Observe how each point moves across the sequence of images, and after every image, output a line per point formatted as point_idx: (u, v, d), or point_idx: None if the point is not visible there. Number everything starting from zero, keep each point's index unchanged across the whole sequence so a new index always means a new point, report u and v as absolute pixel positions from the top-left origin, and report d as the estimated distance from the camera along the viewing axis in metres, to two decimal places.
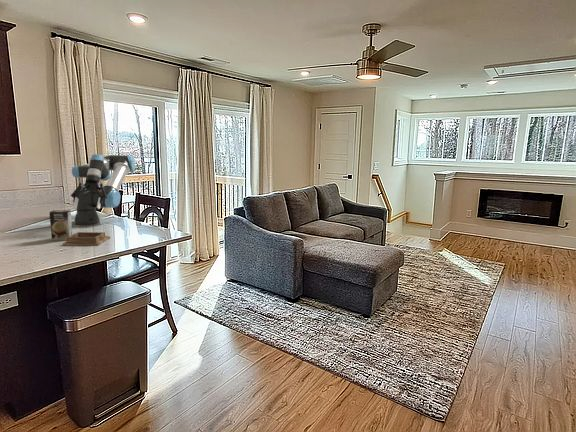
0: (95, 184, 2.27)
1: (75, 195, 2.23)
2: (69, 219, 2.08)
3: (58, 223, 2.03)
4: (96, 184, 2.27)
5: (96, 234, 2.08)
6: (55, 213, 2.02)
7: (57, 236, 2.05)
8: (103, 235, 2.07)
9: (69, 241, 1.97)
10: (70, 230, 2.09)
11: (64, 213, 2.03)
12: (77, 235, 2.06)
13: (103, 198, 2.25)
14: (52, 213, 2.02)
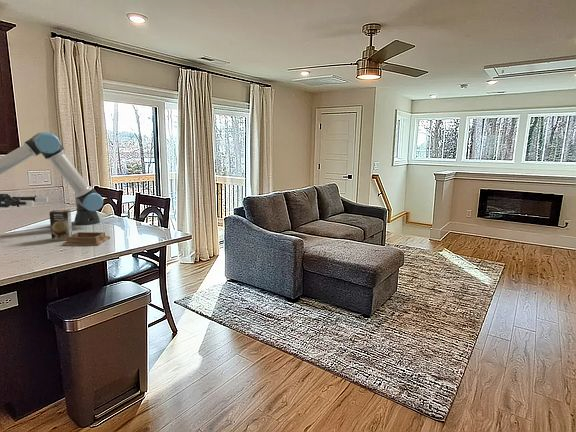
0: None
1: None
2: (69, 219, 2.08)
3: (58, 223, 2.03)
4: None
5: (96, 234, 2.08)
6: (55, 213, 2.02)
7: (57, 236, 2.05)
8: (103, 235, 2.07)
9: (69, 241, 1.97)
10: (70, 230, 2.09)
11: (64, 213, 2.03)
12: (77, 235, 2.06)
13: (17, 202, 1.95)
14: (52, 213, 2.02)
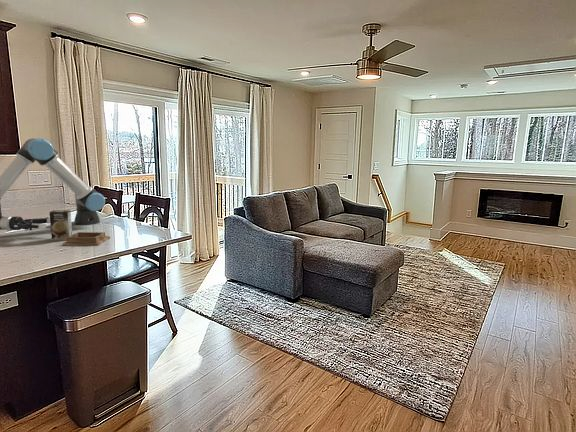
0: None
1: (46, 222, 2.13)
2: (69, 219, 2.08)
3: (58, 223, 2.03)
4: None
5: (96, 234, 2.08)
6: (55, 213, 2.02)
7: (57, 236, 2.05)
8: (103, 235, 2.07)
9: (69, 241, 1.97)
10: (70, 230, 2.09)
11: (64, 213, 2.03)
12: (77, 235, 2.06)
13: (30, 226, 1.97)
14: (52, 213, 2.02)
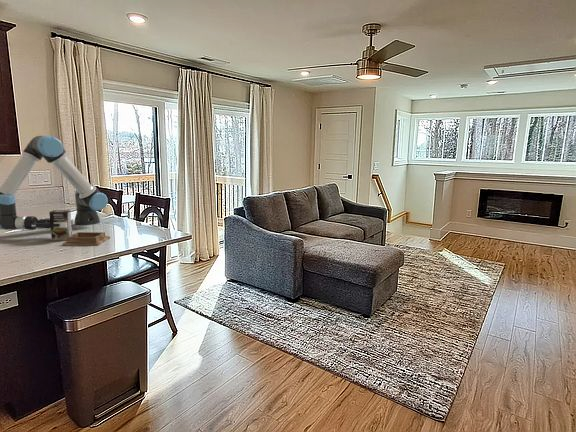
0: None
1: None
2: (69, 219, 2.08)
3: None
4: None
5: (96, 234, 2.08)
6: (55, 213, 2.02)
7: (57, 236, 2.05)
8: (103, 235, 2.07)
9: (69, 241, 1.97)
10: (70, 230, 2.08)
11: (64, 213, 2.03)
12: (77, 235, 2.06)
13: (51, 224, 2.01)
14: (52, 213, 2.02)
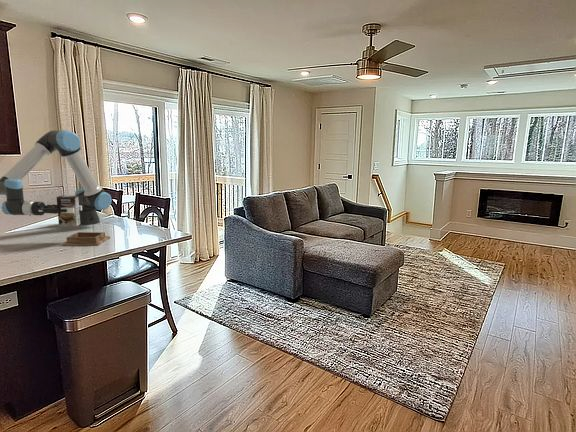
0: None
1: None
2: (77, 204, 2.02)
3: None
4: None
5: (96, 234, 2.08)
6: (62, 198, 1.97)
7: (64, 222, 1.99)
8: (103, 235, 2.07)
9: (69, 241, 1.97)
10: (78, 216, 2.03)
11: (71, 198, 1.98)
12: (77, 235, 2.06)
13: (59, 210, 1.95)
14: (59, 198, 1.96)
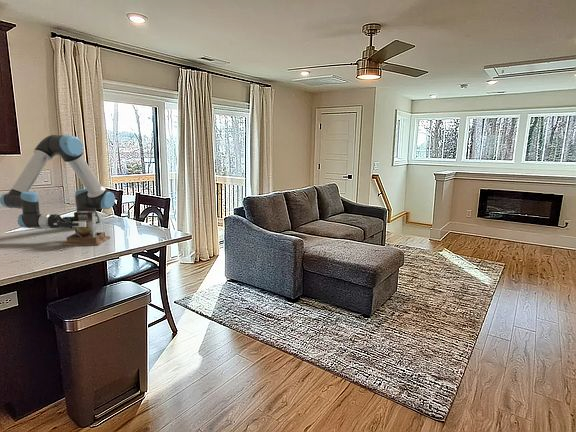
0: None
1: None
2: (94, 219, 2.02)
3: None
4: None
5: (96, 234, 2.08)
6: (79, 214, 1.97)
7: None
8: (103, 235, 2.07)
9: (69, 241, 1.97)
10: (94, 231, 2.03)
11: (88, 214, 1.98)
12: None
13: (70, 224, 1.93)
14: (76, 214, 1.97)
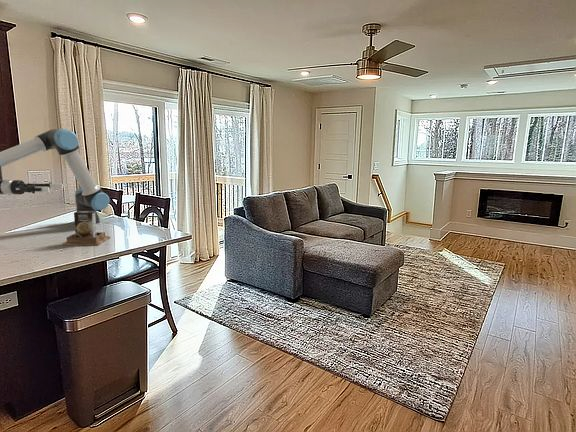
0: None
1: (48, 188, 2.04)
2: (94, 219, 2.02)
3: (82, 224, 1.98)
4: None
5: (96, 234, 2.08)
6: (79, 214, 1.97)
7: None
8: (103, 235, 2.07)
9: (69, 241, 1.97)
10: (94, 231, 2.03)
11: (88, 214, 1.98)
12: None
13: (33, 189, 1.88)
14: (76, 214, 1.97)
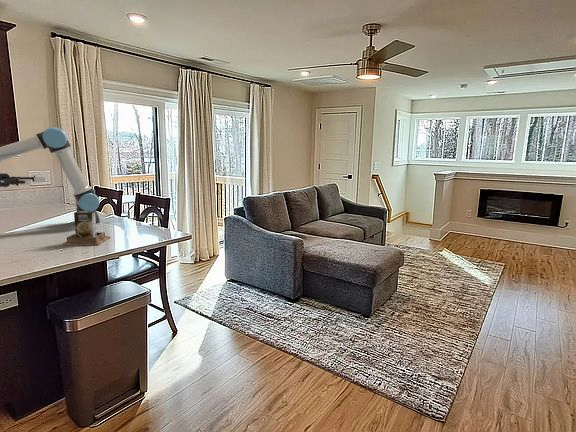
0: None
1: None
2: (94, 219, 2.02)
3: (82, 224, 1.98)
4: None
5: (96, 234, 2.08)
6: (79, 214, 1.97)
7: None
8: (103, 235, 2.07)
9: (69, 241, 1.97)
10: (94, 231, 2.03)
11: (88, 214, 1.98)
12: None
13: (16, 181, 1.98)
14: (76, 214, 1.97)
